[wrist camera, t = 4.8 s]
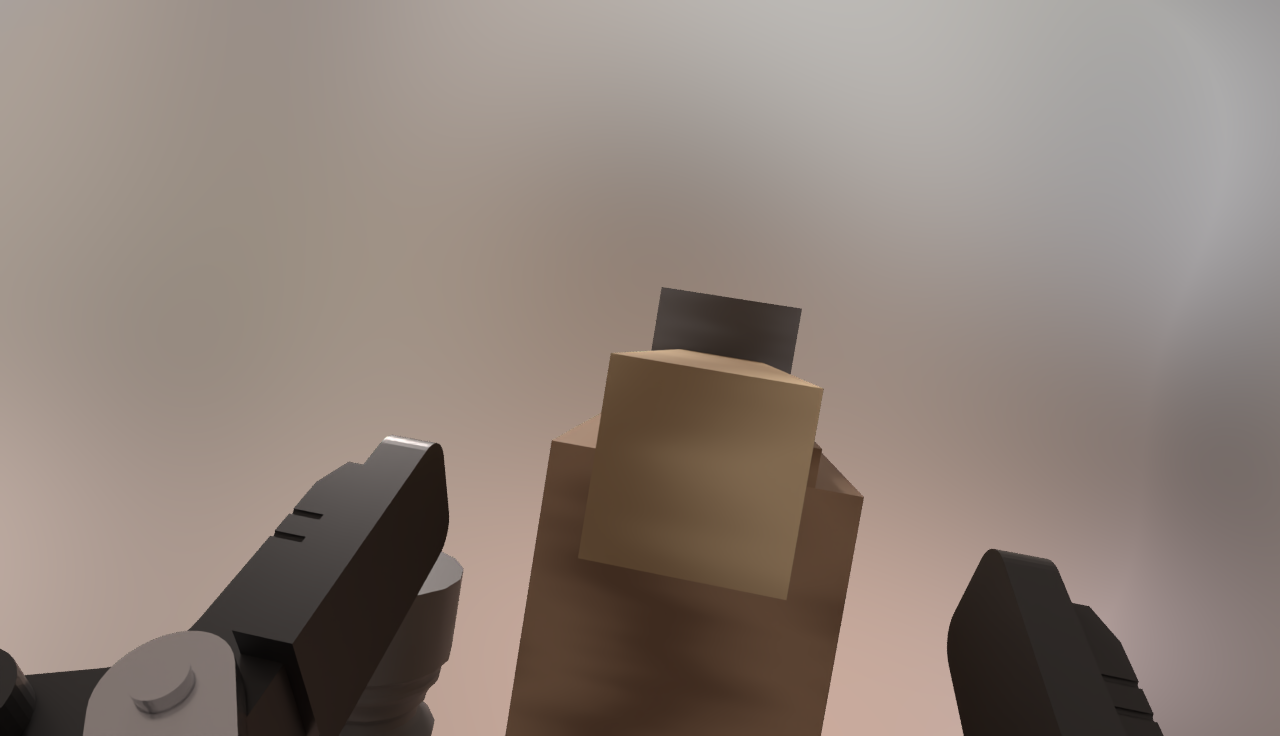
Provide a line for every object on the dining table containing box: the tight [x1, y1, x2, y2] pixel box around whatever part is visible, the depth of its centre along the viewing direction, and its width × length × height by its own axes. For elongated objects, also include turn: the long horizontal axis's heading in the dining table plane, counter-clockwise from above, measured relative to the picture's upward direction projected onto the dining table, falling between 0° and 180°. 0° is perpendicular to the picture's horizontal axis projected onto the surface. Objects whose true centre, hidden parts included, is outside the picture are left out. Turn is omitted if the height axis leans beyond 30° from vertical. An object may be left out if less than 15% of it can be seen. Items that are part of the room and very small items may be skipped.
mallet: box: [578, 287, 824, 600], centre depth 19 cm, size 5×19×5 cm, turn 173°
